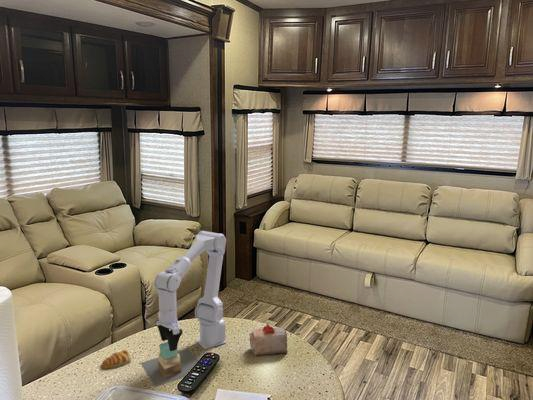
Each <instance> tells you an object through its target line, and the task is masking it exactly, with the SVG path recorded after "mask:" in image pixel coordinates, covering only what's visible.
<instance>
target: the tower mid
mask: <svg viewBox="0 0 533 400" xmlns="http://www.w3.org/2000/svg"><path fill="white" fill-rule="evenodd" d="M158 357H159V362H160V363H161V365H162V366H163V368H164V369H166V368H169V367H172V366H176V365H179V364H180V355H179V354H178V356H176V357H173V358H169V359H166V360H164V358H163V357H162V356H161V354H160V352H158Z"/></svg>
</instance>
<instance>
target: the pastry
mask: <svg viewBox="0 0 533 400" xmlns="http://www.w3.org/2000/svg"><path fill="white" fill-rule="evenodd" d="M131 362H132V358H131V356H130V353H129V351H128V350H127V349H123V350H122V351H118V352H114V353H112V355H110V356H108V357H107V358H106V359H103V361H102V363H101V367H102V369H105V370H109V369H114V368H118V367H119V368H120V367H122V366H125V365H127V364H130V363H131Z"/></svg>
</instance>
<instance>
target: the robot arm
mask: <svg viewBox="0 0 533 400" xmlns="http://www.w3.org/2000/svg"><path fill="white" fill-rule="evenodd" d="M226 244H227V238H226V236H225V235H224V234H223V233H217V232H212V231H206V230H200V231H199V232H198V233H197V235H195V237H194V243H193V244H192V245H191V246H190V248H188V250H187V251H186V253H184V255H183V256H178V257H177V258H175V260H174V261H173V262H172V263H171V264H170V265H169V267H168V268H166V269H165V270H164V271H160V272H159V273H157V275H156V276H155V278H154V281H153V285H154V287H155V288H156V293H157V295H158V312H157V315H158V316H157V318H158V319H157V320H155V321H154V323H155V325H156V327H157V329H158V332H159V335H160V339H161V341H162V342H165V341H167V342H168V344H169V349H170V351H174V350H176V349H177V350H178V345H179V342H180V341H179V340H180V338H181V337H182V334H183V330H182V328H180V327H179V320H178V311H177V304H178V303H177V300H178V299H177V290H178V289H179V287H180V285H181V282H182V280H183V279H182V278H184V277H185V275H186V274H187V272H189V271H190V269H191V266H192V265H191V264H192V262H194V261H195V260H196V259H197V258H198V257H199V256H200V255H201V254H202V253H203V252H206V253H207V255H208V256H209V257H208V264H207V270H206V277H205V285H204V292H203V296H202V297H200V298H199V299H198V300H197V305H196V306H195V309H194V315H195V318H196V319H197V321H198V322H199V338H197V339H195V340H196V343H198V344H199V345H200V346H201V347H202V348H203V349H204V350H207V349H210V348H213V347H217V346H220V345H224V344H226V343H227V340H226V323H225V320H224V318H223V317H224V310H223V309H224V303H223V302H222V300H221V299H220V298H219V297H218V296H219V290H220V282H221V274H222V266H223V261H224V255H225V252H226Z"/></svg>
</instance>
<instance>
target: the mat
mask: <svg viewBox="0 0 533 400" xmlns="http://www.w3.org/2000/svg"><path fill="white" fill-rule="evenodd" d="M178 354H179V355H180V363H181V372H180V373H177V374H174V375H171V376H169V377H166V378H164V377H163V375H162V374H161V372H160V371H159V370H158V361H159V356H158V357H155V358H152V359H149V360H145V361H143V362H140V365H141V367H142V368H143V369H144V371H145V373H146V374H147V376H148V377H149V379H150V380H151V382H152V384H153V385H154V387H156V388H157V387H159V386H163V385H165V384H168V383H171V382H174V381H177V380H180V379H182V378H186V377H187V376H186V375H187V374H188V372H190V370H191V369H192V368H193V367H194V366H195V364H196V363H197V362H198V361H200V360H199V359H198V357H196V356H195V354H194V353H193V352H192V351H191V350H190V348H184V349H181V350H178ZM185 376H186V377H185Z"/></svg>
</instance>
